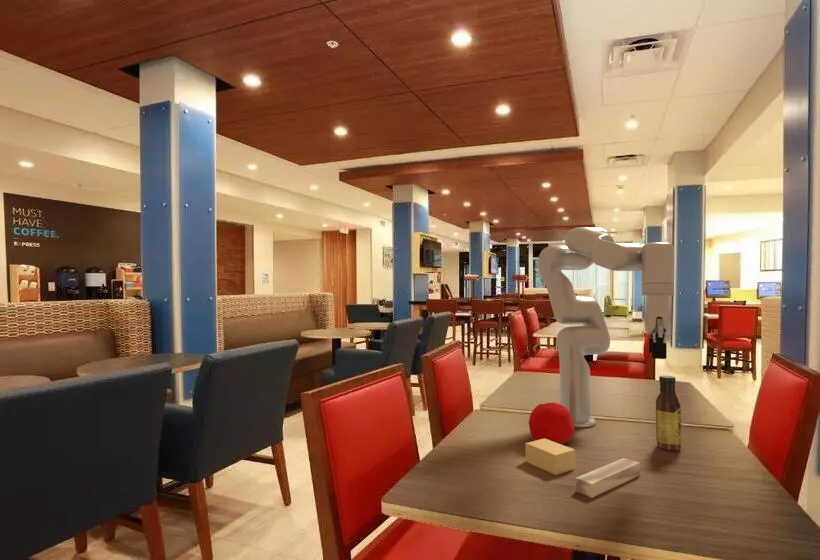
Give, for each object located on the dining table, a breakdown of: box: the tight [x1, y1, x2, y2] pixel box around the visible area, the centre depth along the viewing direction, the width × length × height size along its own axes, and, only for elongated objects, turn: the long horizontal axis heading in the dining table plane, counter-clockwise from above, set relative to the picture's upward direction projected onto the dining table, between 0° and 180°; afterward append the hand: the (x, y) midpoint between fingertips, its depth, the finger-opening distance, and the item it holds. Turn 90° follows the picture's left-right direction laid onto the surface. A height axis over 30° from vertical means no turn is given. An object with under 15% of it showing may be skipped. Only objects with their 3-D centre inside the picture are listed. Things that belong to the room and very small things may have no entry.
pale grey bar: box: [575, 457, 641, 499], centre depth 110 cm, size 4×20×3 cm, turn 126°
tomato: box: [528, 402, 575, 445], centre depth 137 cm, size 13×13×13 cm
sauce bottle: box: [655, 375, 682, 452], centre depth 133 cm, size 7×6×20 cm
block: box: [525, 438, 576, 475], centre depth 121 cm, size 10×7×5 cm
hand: (657, 355), depth 124 cm, fingers open, 9 cm apart
